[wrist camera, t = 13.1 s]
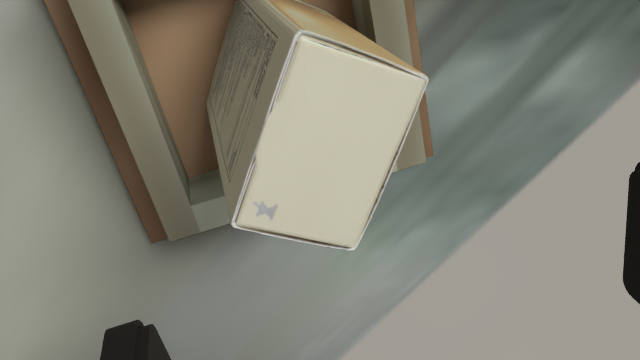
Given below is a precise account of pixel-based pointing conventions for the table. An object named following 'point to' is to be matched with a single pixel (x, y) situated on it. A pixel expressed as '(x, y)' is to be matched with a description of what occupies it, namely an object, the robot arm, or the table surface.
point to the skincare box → (306, 122)
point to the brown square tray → (190, 94)
